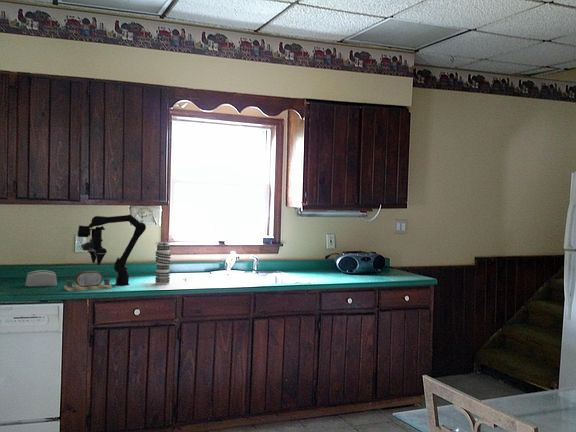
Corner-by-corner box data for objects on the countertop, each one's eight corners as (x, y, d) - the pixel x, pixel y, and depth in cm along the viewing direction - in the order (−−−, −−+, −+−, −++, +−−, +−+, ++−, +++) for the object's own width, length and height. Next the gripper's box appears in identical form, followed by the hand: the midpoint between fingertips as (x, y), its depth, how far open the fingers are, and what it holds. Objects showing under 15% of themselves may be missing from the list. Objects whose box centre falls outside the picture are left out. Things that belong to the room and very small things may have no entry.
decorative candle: (153, 282, 380) (154, 241, 379) (168, 282, 384) (169, 241, 383) (155, 284, 372) (156, 243, 371) (171, 284, 375) (172, 243, 374)
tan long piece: (106, 286, 362) (107, 276, 362) (112, 288, 354) (112, 279, 354) (64, 288, 348) (64, 279, 348) (68, 291, 341) (68, 281, 340)
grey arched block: (55, 284, 363) (57, 268, 359) (56, 288, 359) (57, 272, 355) (24, 285, 355) (25, 269, 352) (25, 289, 351) (26, 273, 348)
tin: (101, 284, 356) (101, 270, 356) (103, 285, 354) (103, 270, 353) (74, 286, 348) (74, 271, 347) (76, 287, 345) (76, 272, 345)
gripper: (77, 236, 367) (77, 262, 368) (87, 239, 352) (87, 266, 353) (96, 236, 374) (96, 261, 374) (107, 238, 358) (106, 265, 359)
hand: (96, 264), depth 365 cm, fingers open, 9 cm apart
